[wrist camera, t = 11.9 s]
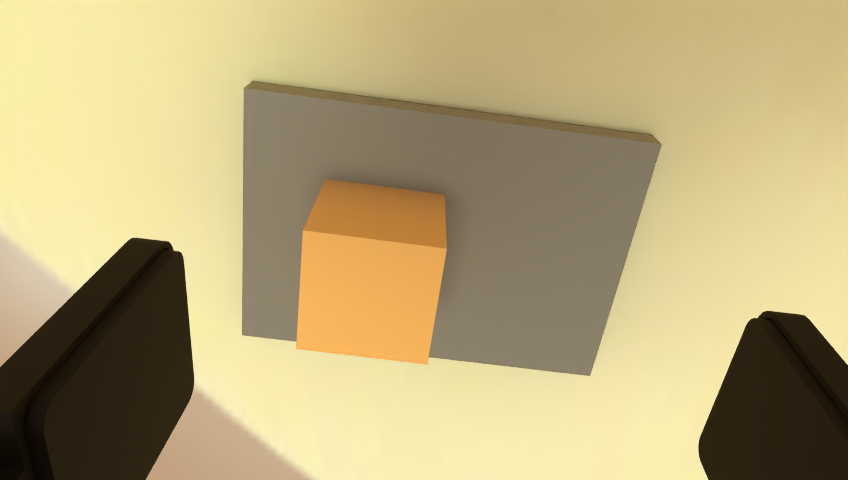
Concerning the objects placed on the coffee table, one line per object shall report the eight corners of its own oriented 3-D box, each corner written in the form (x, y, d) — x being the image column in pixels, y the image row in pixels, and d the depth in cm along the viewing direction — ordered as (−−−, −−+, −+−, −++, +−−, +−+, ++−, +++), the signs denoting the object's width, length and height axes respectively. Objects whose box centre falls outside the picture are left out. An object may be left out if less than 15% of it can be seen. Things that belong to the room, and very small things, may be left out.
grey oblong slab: (651, 135, 32) (661, 144, 31) (584, 359, 38) (589, 375, 37) (252, 81, 31) (243, 88, 30) (249, 320, 37) (242, 335, 36)
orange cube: (444, 194, 32) (446, 248, 26) (428, 296, 34) (427, 364, 29) (325, 178, 32) (302, 230, 26) (317, 282, 34) (296, 348, 29)
